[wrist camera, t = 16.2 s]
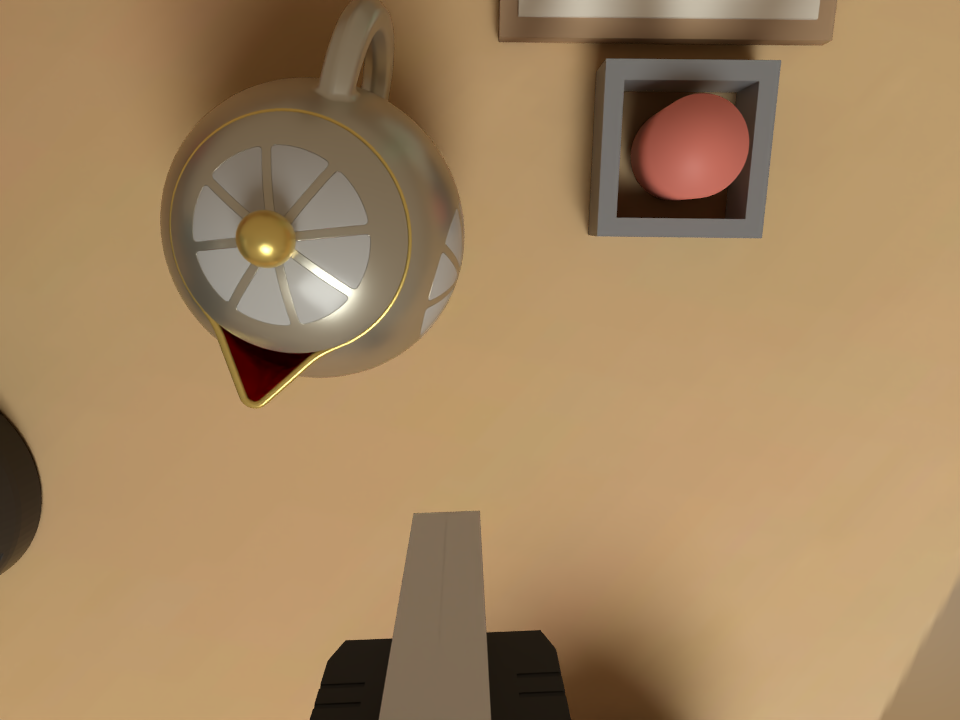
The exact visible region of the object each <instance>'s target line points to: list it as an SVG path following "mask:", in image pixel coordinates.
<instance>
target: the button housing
mask: <svg viewBox="0 0 960 720" xmlns="http://www.w3.org/2000/svg"><path fill="white" fill-rule="evenodd" d="M780 66H781V60H702V59H606V60H605V61H604V62H603V64H602V65H601V66H600V68H599V69H598V70H597V72H596V87H595V107H594V128H593V148H592V169H591V190H590V210H589V231H588V235H592V236H624V237H706V238H762V232H763V223H764V214H765V204H766V195H767V186H768V177H769V167H770V158H771V149H772V140H773V130H774V121H775V112H776V103H777V94H778V84H779V75H780ZM624 91H644V92H737V96H736V106H735V107H736V108H737V109H738V110H739V112H740V113H741V114H742V116H743V118H744V120H745V122H746V125H747V128H748V133H749V150H748V155H747V159H746V162H745V164H744V166H743V168H742V170H741V172H740V173H739V175H738V176H737V177H736V179H735V180H734V181H733V182H732V183H731V184H730V185H729V186H728V191H727V201H726V212H725V219H686V218H616V217H617V200H618V182H619V165H620V148H621V130H622V113H623V96H624Z"/></svg>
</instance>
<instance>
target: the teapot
mask: <svg viewBox="0 0 960 720" xmlns="http://www.w3.org/2000/svg"><path fill="white" fill-rule="evenodd" d="M363 61H364V69H363V79H362V86H361V88H360V87H357V86H356V85H357V81H358V78H359V74H360V70H361V67H362V64H363ZM393 63H394V31H393V24H392V19H391V16H390V14H389V12H388V10H387V9H386V7H385V6H384V5H383V4H382V3H381V2H380V1H379V0H353V1H351V2H350V3H349V4H348V5H347V6H346V8H345V9H344V11H343V12H342V14H341V16H340V17H339V19H338V22H337V24H336V26H335V28H334V31H333V34H332V36H331V39H330V42H329V45H328V48H327V52H326V55H325V59H324V62H323V66H322V70H321V75H320V78H310V77H302V78H286V79H279V80H274V81H270V82H266V83H262V84H259V85H256V86H253V87H250V88H248V89H245V90H243V91H241V92H239V93H237V94H235V95H233V96H231V97H230V98H228V99H226V100H225V101H223V102H222V103H221V104H219V105H218V106H216V107H215V108H214V109H212V110H211V111H210V112H209V113H208V114H206V115H205V116H204V117H203V118H202V119H201V120H200V121H199V122H198V123H197V125H196V126H195V127H194V128H193V129H192V130H191V132H190V133H189V134H188V136H187V137H186V139H185V140H184V142H183V143H182V145H181V146H180V148H179V150H178V152H177V153H176V155H175V157H174V159H173V162H172V164H171V166H170V169H169V172H168V174H167V178H166V181H165V185H164V189H163V194H162V201H161V212H160V226H161V238H162V245H163V250H164V255H165V259H166V263H167V266H168V269H169V272H170V274H171V277H172V279H173V282H174V284H175V286H176V288H177V290H178V292H179V294H180V296H181V297H182V299H183V301H184V302H185V304H186V305H187V307H188V308H189V310H190V311H191V312H192V314H193V315H194V316H195V318H196V319H197V320H198V321H199V322H200V324H201V325H202V326H203V327H204V328H205V329H206V330H207V331H208V332H209V333H210V334H211V335H212V336H214V337H215V338H216V339H217V340H218V342H219V344H220V347H221V350H222V352H223V355H224V358H225V360H226V363H227V366H228V368H229V371H230V374H231V376H232V379H233V382H234V384H235V387H236V390H237V392H238V395H239V397H240V400H241V401H242V402H243V403H244V404H245V405H246V406H248V407H250V408H261V407H263V406H265V405H266V404H267V403H269V402H270V401H271V400H272V399H273V398H274V397H275V396H276V395H278V394H279V393H280V392H281V391H282V390H283V389H284V388H286V387H287V386H288V385H289V384H290V383H291V382H292V381H293V380H295V379H296V378H297V377H298V376H301V377H313V378H328V377H339V376H346V375H351V374H355V373H359V372H363V371H366V370H369V369H372V368H375V367H377V366H379V365H381V364H384V363H386V362H388V361H390V360H392V359H393V358H395V357H397V356H398V355H400V354H402V353H403V352H404V351H406V350H407V349H409V348H410V347H411V346H412V345H413V344H415V343H416V342H417V341H418V340H419V339H420V338H421V337H422V336H423V335H424V334H425V333H426V332H427V331H428V330H429V329H430V328H431V327H432V325H433V324H434V323H435V322H436V320H437V319H438V318H439V316H440V315H441V313H442V312H443V310H444V308H445V307H446V305H447V303H448V301H449V299H450V297H451V295H452V293H453V290H454V288H455V285H456V282H457V279H458V276H459V272H460V268H461V264H462V259H463V251H464V219H463V212H462V206H461V201H460V197H459V194H458V190H457V187H456V185H455V182H454V179H453V177H452V174H451V172H450V170H449V168H448V166H447V164H446V162H445V160H444V158H443V157H442V155H441V154H440V152H439V150H438V149H437V147H436V146H435V145H434V143H433V142H432V141H431V139H430V138H429V137H428V136H427V134H426V133H425V132H424V131H423V130H422V129H421V128H420V127H419V126H418V125H417V124H416V123H415V122H414V121H413V120H412V119H411V118H410V117H409V116H408V115H406V114H405V113H404V112H403V111H401V110H400V109H399V108H397V107H396V106H394V105H393V104H391V103H390V102H388V98H389V93H390V87H391V81H392V73H393Z"/></svg>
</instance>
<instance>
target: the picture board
mask: <svg viewBox="0 0 960 720" xmlns="http://www.w3.org/2000/svg"><path fill="white" fill-rule="evenodd" d="M836 5H837V0H500V14H499V42H546V43H644V44H741V45H824V44H826V43H828V42H830V41H832V37H833V29H834V21H835V13H836Z"/></svg>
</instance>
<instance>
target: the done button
mask: <svg viewBox="0 0 960 720" xmlns="http://www.w3.org/2000/svg"><path fill="white" fill-rule="evenodd" d="M748 150H749V133H748V128H747V125H746V122H745V120H744V118H743V116H742V114H741V113H740V112H739V110H738V109H737V108H736V107H735V106H734V105H733V104H732V103H731V102H729V101H728V100H726V99H724V98H723V97H720V96H717V95H714V94H708V93H697V94H692V95H688V96H685V97H683V98H681V99H679V100H677V101H675V102H674V103H672V104H670V105H669V106H667V107H666V108H664V109H662V110H661V111H659V112H658V113H656V114H654V115H653V116H651V117H650V118H649V119H648V120H647V121H646V122H645V123H644V124H643V125H642V126H641V128H640V129H639V130H638V132H637V134H636V136H635V138H634V141H633V144H632V148H631V166H632V170H633V173H634V176H635V178H636V180H637V181H638V183H639V184H640V186H641V187H642V188H643V189H644V190H645V191H646V192H648V193H649V194H651V195H652V196H654V197H657V198H659V199H663V200H671V201H673V200H685V199H695V198H703V197H708V196H711V195H714V194H716V193H718V192H720V191H722V190H723V189H725V188H726V187H727V186H729V185H730V184H731V183H732V182H733V181H734V180H735V179H736V177H737V176H738V175H739V173H740V172H741V170H742V168H743V166H744V164H745V162H746V159H747V155H748Z"/></svg>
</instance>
